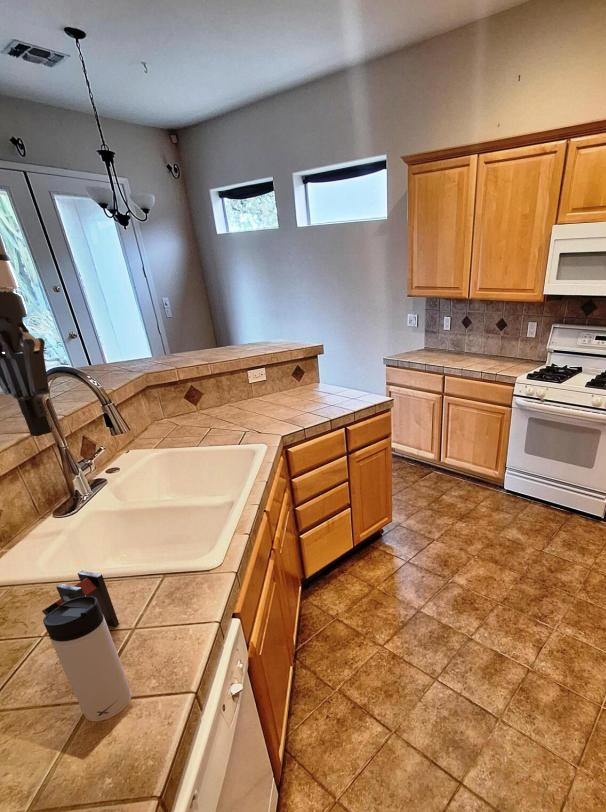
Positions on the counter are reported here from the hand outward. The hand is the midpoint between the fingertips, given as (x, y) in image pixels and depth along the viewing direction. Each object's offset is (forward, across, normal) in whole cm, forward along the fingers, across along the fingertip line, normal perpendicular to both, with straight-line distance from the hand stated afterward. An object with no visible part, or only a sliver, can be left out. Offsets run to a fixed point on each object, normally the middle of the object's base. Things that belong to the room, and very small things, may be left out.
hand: (41, 433), depth 79 cm
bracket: (+34, -14, +12) cm, 39 cm away
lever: (+27, -11, +12) cm, 31 cm away
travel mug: (+35, -29, +24) cm, 51 cm away
